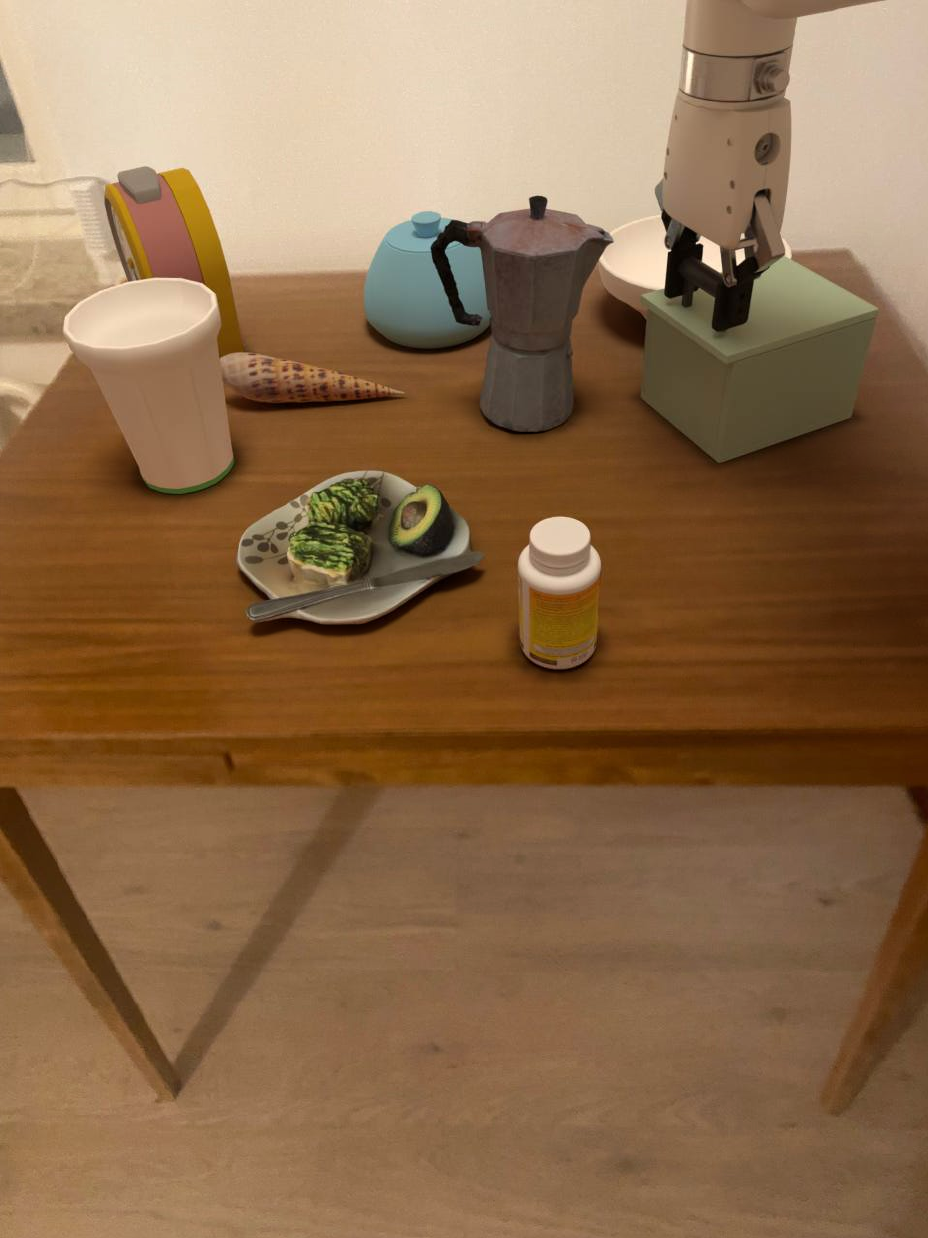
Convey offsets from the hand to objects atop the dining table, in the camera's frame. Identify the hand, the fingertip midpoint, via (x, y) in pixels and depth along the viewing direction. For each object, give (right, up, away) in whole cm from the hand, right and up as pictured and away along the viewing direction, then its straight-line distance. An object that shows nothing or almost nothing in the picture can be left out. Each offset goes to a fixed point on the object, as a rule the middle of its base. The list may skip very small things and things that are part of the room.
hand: (704, 307), depth 81 cm
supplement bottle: (-13, -28, -11) cm, 33 cm away
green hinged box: (+6, -6, +10) cm, 13 cm away
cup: (-46, -12, +8) cm, 48 cm away
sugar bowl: (-23, +7, +26) cm, 35 cm away
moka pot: (-15, -6, +12) cm, 20 cm away
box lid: (+5, +1, +3) cm, 6 cm away
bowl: (+4, +7, +23) cm, 25 cm away
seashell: (-35, -5, +15) cm, 38 cm away
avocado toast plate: (-28, -21, -3) cm, 35 cm away
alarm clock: (-50, +4, +25) cm, 56 cm away
